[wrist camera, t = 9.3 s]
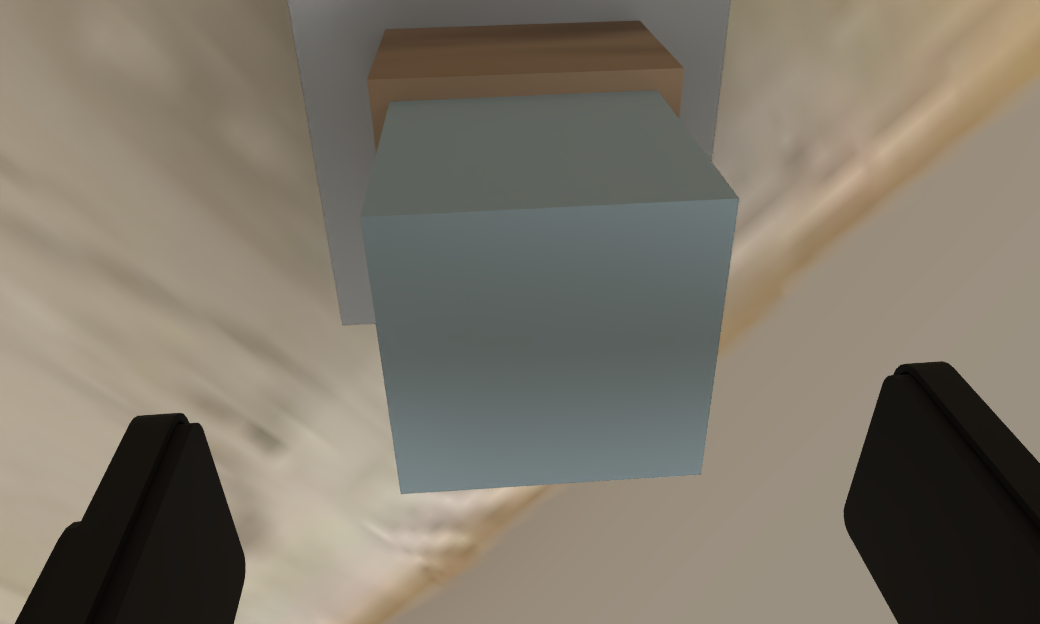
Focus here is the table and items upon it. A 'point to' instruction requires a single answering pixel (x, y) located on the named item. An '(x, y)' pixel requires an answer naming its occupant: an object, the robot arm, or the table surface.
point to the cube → (546, 288)
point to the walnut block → (519, 63)
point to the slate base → (455, 3)
